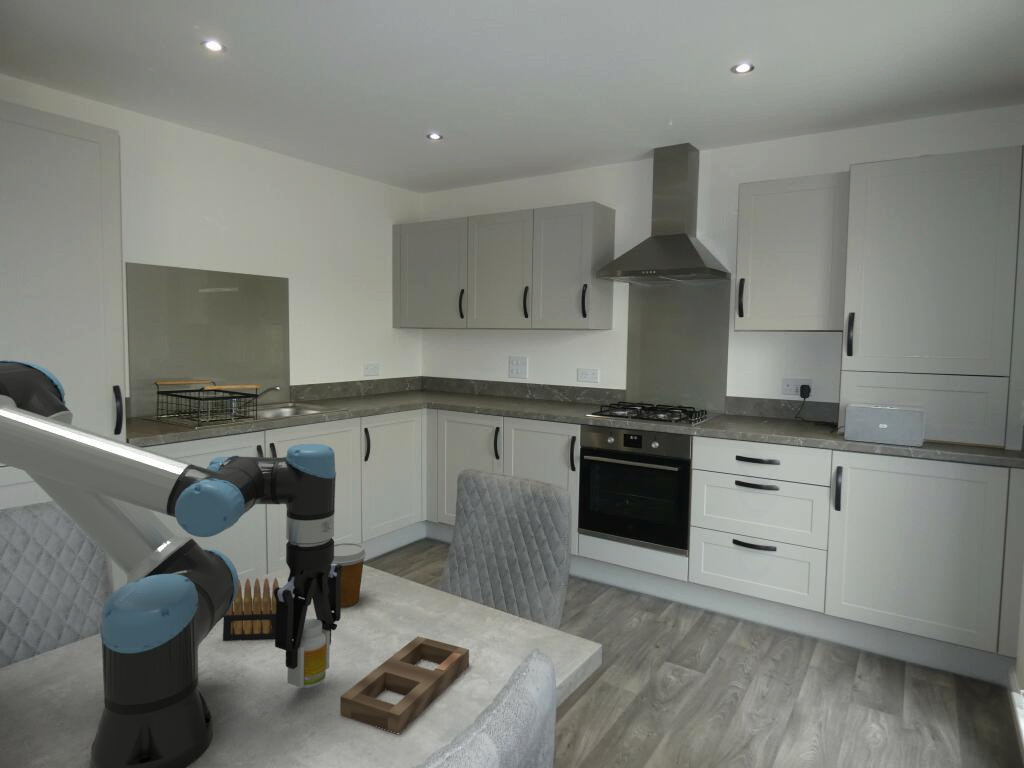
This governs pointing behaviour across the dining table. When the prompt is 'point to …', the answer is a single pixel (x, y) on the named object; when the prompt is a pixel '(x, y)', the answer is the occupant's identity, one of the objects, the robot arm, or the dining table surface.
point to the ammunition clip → (251, 614)
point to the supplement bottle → (313, 653)
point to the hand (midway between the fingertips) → (308, 674)
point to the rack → (404, 684)
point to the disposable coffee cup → (349, 571)
